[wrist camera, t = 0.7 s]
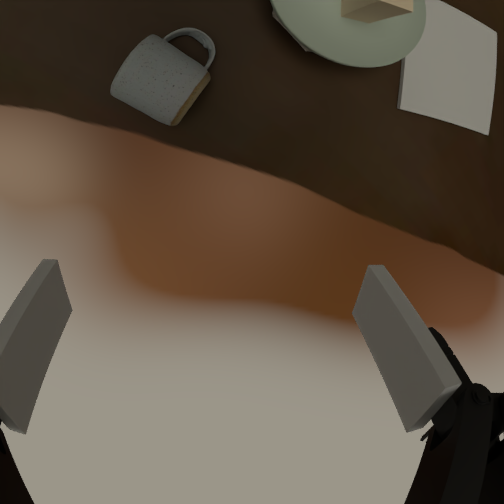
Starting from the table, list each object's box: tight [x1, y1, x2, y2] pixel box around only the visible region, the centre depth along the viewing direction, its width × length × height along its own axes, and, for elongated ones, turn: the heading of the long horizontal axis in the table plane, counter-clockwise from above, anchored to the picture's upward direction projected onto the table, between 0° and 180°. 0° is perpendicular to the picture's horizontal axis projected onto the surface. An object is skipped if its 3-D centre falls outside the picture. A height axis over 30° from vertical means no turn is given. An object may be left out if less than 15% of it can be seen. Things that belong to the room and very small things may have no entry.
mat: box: [397, 0, 497, 135], centre depth 30 cm, size 18×18×1 cm
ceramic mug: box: [110, 28, 215, 126], centre depth 27 cm, size 11×8×8 cm
